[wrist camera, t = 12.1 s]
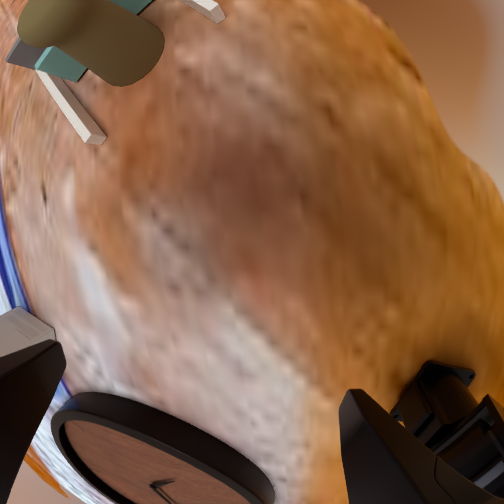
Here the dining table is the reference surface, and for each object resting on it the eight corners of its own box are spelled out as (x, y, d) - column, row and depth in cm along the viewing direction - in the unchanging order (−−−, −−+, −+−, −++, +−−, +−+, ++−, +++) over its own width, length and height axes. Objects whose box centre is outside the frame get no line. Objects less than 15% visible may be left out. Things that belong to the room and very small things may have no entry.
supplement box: (18, 303, 25) (-57, 343, 13) (55, 328, 24) (-27, 384, 12) (27, 351, 27) (-36, 395, 15) (63, 377, 26) (-1, 435, 14)
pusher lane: (225, 17, 15) (200, -29, 10) (101, 144, 19) (46, 138, 13) (138, -29, 15) (108, -59, 9) (46, 71, 18) (5, 59, 12)
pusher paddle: (154, -2, 15) (126, -31, 10) (75, 82, 18) (36, 69, 13) (150, -5, 15) (122, -33, 10) (72, 78, 18) (34, 65, 13)
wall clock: (24, 366, 22) (305, 475, 19) (44, 351, 26) (307, 443, 22) (80, 487, 30) (248, 549, 26) (90, 474, 34) (251, 532, 30)
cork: (151, 12, 16) (74, -53, 5) (175, 56, 17) (83, -18, 6) (95, 54, 17) (5, 14, 7) (111, 100, 18) (2, 67, 7)
